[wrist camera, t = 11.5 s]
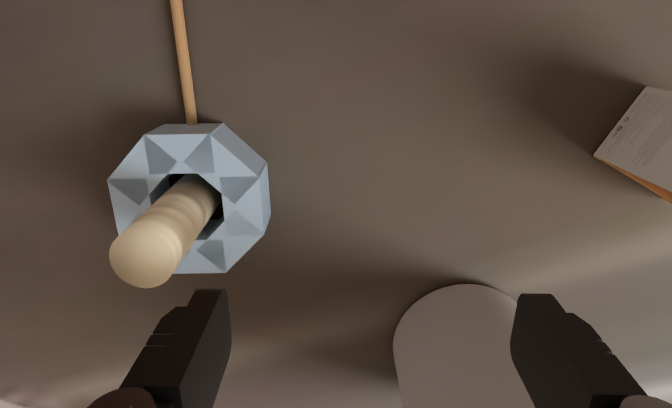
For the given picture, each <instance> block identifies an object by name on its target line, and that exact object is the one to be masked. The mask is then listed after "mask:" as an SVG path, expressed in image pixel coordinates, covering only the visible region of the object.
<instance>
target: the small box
mask: <svg viewBox="0 0 672 408" xmlns="http://www.w3.org/2000/svg"><path fill="white" fill-rule="evenodd" d="M593 157H595V158H596V159H598V160H600V161H602V162H604V163H606V164H608V165H609V166H611V167H613V168H615V169H616V170H618V171H620V172H621V173H623V174H625V175H626V176H628V177H630V178H631V179H633V180H635V181H636V182H638V183H640V184H641V185H643V186H644V187H646V188H648V189H649V190H651V191H652V192H654V193H656V194H657V195H659V196H660V197H662V198H663V199H665V200H667V201H668V202H670V203H672V90H666V89H661V88H655V87H650V86H647V87H645V88H644V89H643V91H642V92H641V93H640V95H639V96H638V97H637V98H636V100H635V101H634V102H633V104H632V105H631V106H630V107H629V109H628V110H627V111H626V113H625V114H624V115H623V116H622V118H621V119H620V120H619V122H618V123H617V124H616V125H615V127H614V128H613V129H612V131H611V132H610V133H609V135H608V136H607V137H606V139H605V140H604V141H603V143H602V144H601V145H600V146H599V148H598V149H597V150H596V152H595V153H594V155H593Z"/></svg>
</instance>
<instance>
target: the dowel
mask: <svg viewBox="0 0 672 408" xmlns="http://www.w3.org/2000/svg"><path fill="white" fill-rule="evenodd" d="M221 201H222V194H221V193H220V192H219V191H218V190H217V189H216V188H214V187H213V186H212V185H211V184H210V183H208V182H207V181H206V180H205V179H204V178H202V177H201V176H200V175H199V174H198V173H190V174H185V175H184V176H183V177H181V178H180V179H179V180H178V181H177V182H176V183H175V184H174V185H173V186H172V187H171V188H170V189H169V190H168V191H166V192H165V193H164V194H163V195H162V196H161V197H160V198H159V199H158V200H157V201H156V202H155V203H154V204H153V205H151V206H150V207H149V208H148V209H147V210H146V211H145V212H144V213H143V214H142V215H141V216H140V217H139V218H138V219H136V220H135V221H134V222H133V223H132V224H131V225H130V226H129V227H128V228H127V229H126V230H125V231H124V232H123V233H121V234H120V235H119V236H118V237H117V238H116V239H115V240H114V242H113V243H112V245H111V247H110V251H109V260H110V264H111V266H112V268H113V270H114V272H115V273H116V274H117V275H118V276H119V277H120V278H121V279H122V280H123V281H125V282H126V283H128V284H130V285H133V286H136V287H140V288H153V287H157V286H159V285H162V284H163V283H165V282H166V281H167V280H168V279H169V278H170V276H171V275H172V273H173V272H174V271H175V269H176V268H177V266H178V265H179V263H180V262H181V260H182V259H183V257H184V256H185V254H186V253H187V251H188V250H189V248H190V247H191V245H192V244H193V242H194V241H195V240H196V238H197V237H198V235H199V234H200V232H201V231H202V229H203V228H204V226H205V225H206V223H207V222H208V220H209V219H210V217H211V216H212V214H213V213H214V211H215V210H216V208H217V207H218V206H219V204H220V203H221Z"/></svg>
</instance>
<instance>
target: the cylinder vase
mask: <svg viewBox="0 0 672 408" xmlns="http://www.w3.org/2000/svg"><path fill="white" fill-rule="evenodd" d="M516 307H517V303H516V302H515V301H514V300H513V299H512V298H510V297H509V296H507V295H506V294H504V293H502V292H500V291H498V290H496V289H493V288H490V287H487V286H483V285H476V284H459V285H452V286H447V287H444V288H441V289H438V290H435V291H433V292H431V293H429V294H427V295H425V296H424V297H422V298H421V299H419V300H418V301H417V302H415V303H414V304H413V305H412V306H411V307H410V308H409V309H408V310H407V311H406V313H405V314H404V315H403V317H402V318H401V320H400V322H399V324H398V326H397V328H396V331H395V335H394V339H393V355H394V361H395V366H396V372H397V377H398V382H399V388H400V393H401V399H402V404H403V408H535V406H534V404H533V402H532V400H531V398H530V396H529V394H528V392H527V390H526V388H525V386H524V384H523V382H522V380H521V378H520V376H519V374H518V372H517V370H516V368H515V366H514V364H513V361H512V358H511V353H510V338H511V332H512V327H513V322H514V317H515V312H516Z"/></svg>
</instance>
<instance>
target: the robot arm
mask: <svg viewBox="0 0 672 408" xmlns="http://www.w3.org/2000/svg"><path fill="white" fill-rule="evenodd" d="M230 350H231V327H230V317H229V307H228V297H227V292H226V290H225V289H202V288H198V289H196V291H195V292H194V294H193V296H192V298H191V300H190V302H189V303H188V305H187V307H175V308H174V309H173V310H171V311H170V312H169V313H168V314H166V315H165V316H164V317H163V318H161V320H160V321H159V323H158V325H157V326H156V328H155V330H154V331H153V335H151V336H150V338H149V340H148V341H147V343H146V347H144V348H143V349H142V351H141V353H140V354H139V356H138V358H137V359H136V361H135V363H134V364H133V366H132V368H131V369H130V371H129V373H128V374H127V376H126V378H125V379H124V381H123V382H122V384H121V386H120V387H119V389H116V390H113V391H111V392H108V393H106V394H104V395H102V396H101V397H99V398H98V399H96V400H95V401H94V402H92V403H91V404H90V405H89V406H88V407H87V408H212V407H213V404H214V401H215V398H216V395H217V392H218V389H219V386H220V383H221V380H222V377H223V374H224V371H225V368H226V365H227V362H228V359H229V356H230ZM510 353H511V358H512V361H513V364H514V366H515V368H516V370H517V372H518V374H519V376H520V378H521V380H522V382H523V384H524V386H525V388H526V390H527V392H528V394H529V396H530V398H531V400H532V402H533V404H534V406H535V408H672V404H670V403H668V402H665V401H663V400H660V399H658V398H654V397H651V396H648V395H647V394H646V393H645V392H644V390H643V389H642V388H641V387H640V386H639V384H638V383H637V382H636V381H635V379H634V378H633V377H632V376H631V374H630V373H629V372H628V371H627V370H626V368H625V367H624V366H623V365H622V363H621V362H620V361H619V360H618V358H617V357H616V356H615V355H612V351H611V350H610V349H609V347H608V346H607V345H606V344H605V343H603V342H602V339H601V338H600V336H599V335H598V334H597V333H596V331H595V330H594V329H593V328H592V326H591V325H589V324H588V323H586V322H585V321H584V320H582V319H581V318H579V317H578V316H576V315H575V314H574V313H566V312H565V310H564V309H563V308H562V306H561V305H560V304H559V303H558V301H557V300H556V299H555V297H554V296H553V295H551V294H521V295H520V296H519V298H518V301H517V307H516V312H515V317H514V322H513V327H512V332H511V338H510Z"/></svg>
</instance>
